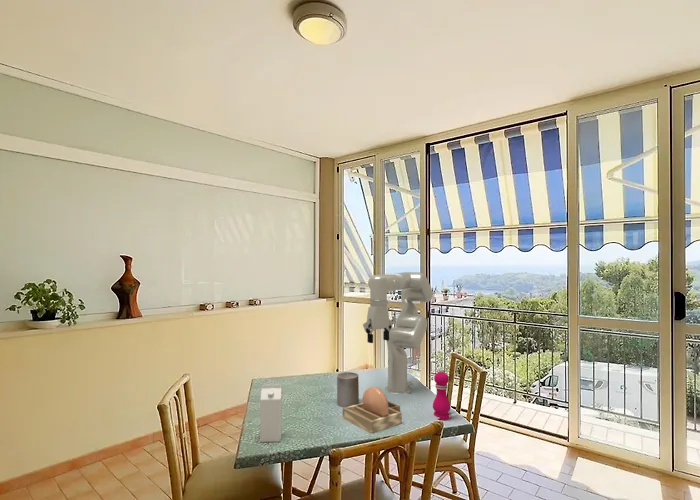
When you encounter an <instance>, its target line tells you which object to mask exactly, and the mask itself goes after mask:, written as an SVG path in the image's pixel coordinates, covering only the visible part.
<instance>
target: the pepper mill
mask: <svg viewBox="0 0 700 500" xmlns="http://www.w3.org/2000/svg"><path fill="white" fill-rule="evenodd" d="M433 379H434V382H435V389H436V396H435V397H434V400H433V403H432V409H433V411H434V412H433V415H434V417H436V418H437V420H439V421H448V420H450V413H449V412H450V411H451V403H450V400H449V397H448V394H447V390H448V386H449V385H448V383H449V381H450V377H449V375H448V374H447V373H445V371H444V369H443V368H440V369H439V372H436V373H435V374H434V377H433Z"/></svg>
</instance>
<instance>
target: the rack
mask: <svg viewBox="0 0 700 500" xmlns="http://www.w3.org/2000/svg"><path fill="white" fill-rule="evenodd" d="M342 420H344V421H347V422H348V423H351V424H352V425H354V426H356V427H358V428H360V429H362V430H364V431H366V432H367V433H370V434H374V433H376V432H381V431H382V430H385V429H389V428H392V427H395V426H399V425H400V424H403V413H402V411H400V412H399V411H397V410H394V409H392V408H389V410H388V416H385V417H380V416H377V415H375V414H373V413H371V412H369V411H366V410H364V409H363V403H362V402H361V403H360V402H359V404H356V405H352V406H349V407H342Z"/></svg>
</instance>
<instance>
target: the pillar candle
mask: <svg viewBox="0 0 700 500" xmlns="http://www.w3.org/2000/svg"><path fill="white" fill-rule="evenodd" d="M359 383H360V381H359V374H358V373H356V372H350V371H349V372H348V371H347V372H346V371H345V372H340V373H338V374H336V390H337V391H336V392H337V393H336V394H337V395H336V400H337V401H336V402H337V403H336V405H337V406H338V407H341V408H345V407H349V406H352V405H356V404H360V399H359V398H360V397H359V392H360V391H359V389H360V388H359V387H360V386H359Z"/></svg>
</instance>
